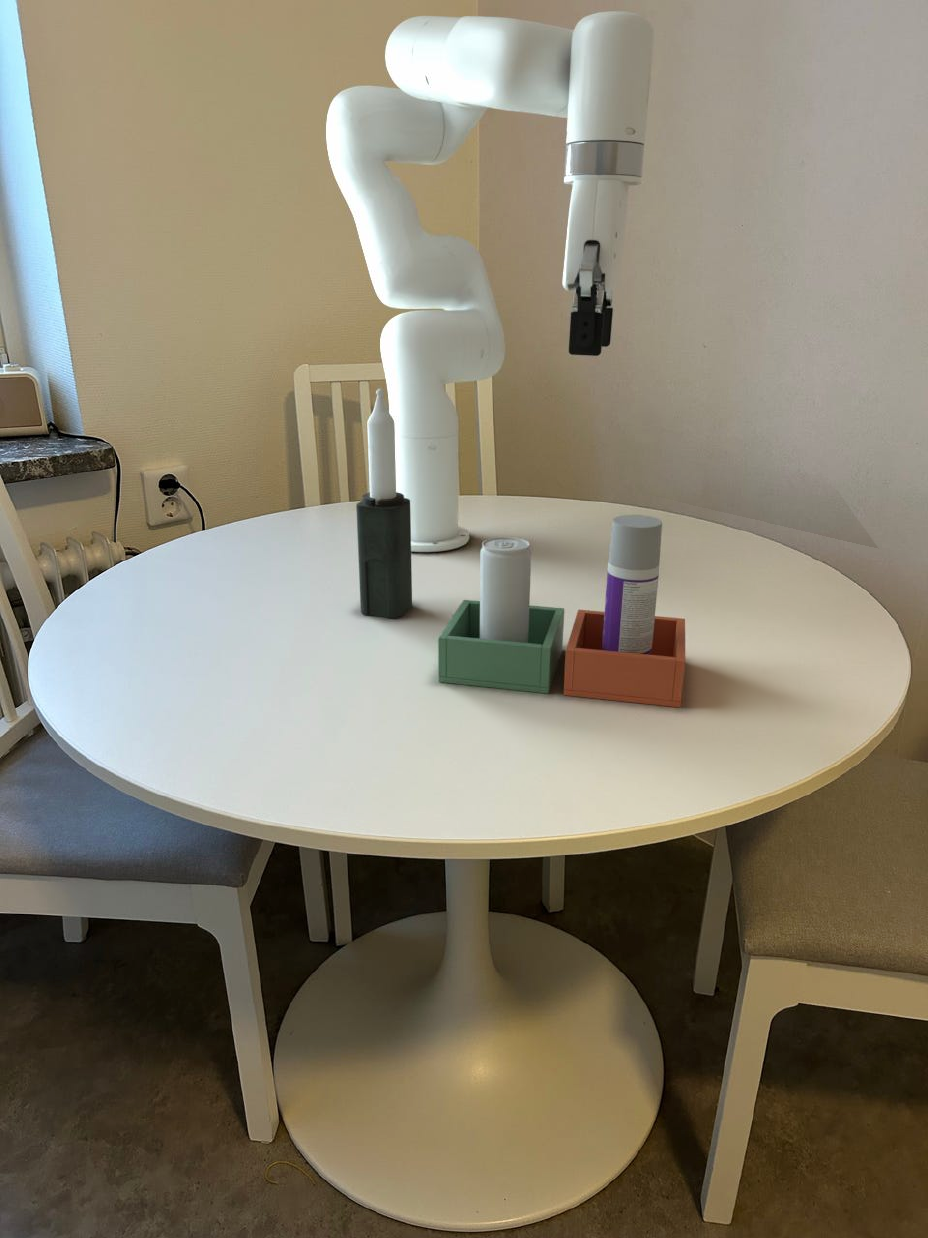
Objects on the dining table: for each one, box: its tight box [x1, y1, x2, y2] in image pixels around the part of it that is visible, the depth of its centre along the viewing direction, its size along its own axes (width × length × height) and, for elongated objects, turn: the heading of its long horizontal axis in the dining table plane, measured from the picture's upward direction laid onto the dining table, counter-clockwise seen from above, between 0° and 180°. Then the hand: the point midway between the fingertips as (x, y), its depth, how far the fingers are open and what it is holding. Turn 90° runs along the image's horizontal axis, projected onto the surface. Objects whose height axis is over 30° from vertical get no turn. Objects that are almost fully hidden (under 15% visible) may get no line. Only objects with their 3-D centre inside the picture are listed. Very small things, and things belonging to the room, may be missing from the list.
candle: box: [355, 387, 413, 619], centre depth 97 cm, size 5×5×25 cm
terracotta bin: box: [563, 609, 686, 708], centre depth 84 cm, size 11×11×5 cm
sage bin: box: [437, 599, 565, 694], centre depth 86 cm, size 11×11×5 cm
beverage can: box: [479, 536, 532, 643], centre depth 85 cm, size 5×5×12 cm
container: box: [602, 514, 663, 655], centre depth 82 cm, size 5×5×15 cm
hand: (590, 350), depth 92 cm, fingers open, 9 cm apart
